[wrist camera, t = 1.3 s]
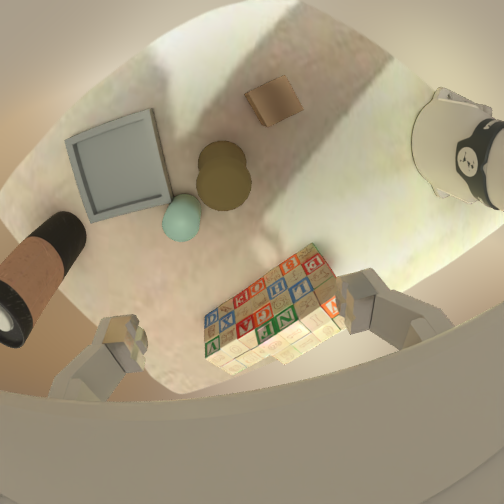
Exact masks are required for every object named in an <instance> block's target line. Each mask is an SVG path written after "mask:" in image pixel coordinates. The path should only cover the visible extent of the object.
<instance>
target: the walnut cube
mask: <svg viewBox="0 0 504 504" xmlns="http://www.w3.org/2000/svg"><path fill="white" fill-rule="evenodd" d="M244 95H245V97H246V98H247V100H248V102H249V103H250V105H251V107H252V108H253V110H254V112H255V114H256V115H257V117H258V119H259V121H260V122H261V124H262V125H263V126H266V127H270V126H272V125H274V124H276V123H278V122H280V121H282V120H284V119H286V118H288V117H290V116H292V115H294V114H296V113H298V112H300V111H303V110H304V109H303V107H302V105H301V103H300V102H299V100H298V98H297V96H296V94H295V92H294V90H293V88H292V87H291V85H290V83H289V81H288V79H287V78H286V76H285V75H283V76H281V77H279V78H277V79H274V80H272V81H270V82H268V83H266V84H264V85H262V86H260V87H257V88H255V89H253V90H251V91H249V92H247V93H245V94H244Z"/></svg>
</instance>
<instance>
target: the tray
mask: <svg viewBox="0 0 504 504" xmlns="http://www.w3.org/2000/svg"><path fill="white" fill-rule="evenodd" d="M65 144H66V148H67V152H68V156H69V159H70V163H71V166H72V170H73V173H74V177H75V180H76V183H77V186H78V189H79V192H80V195H81V198H82V201H83V204H84V207H85V210H86V213H87V215H88V218H89V221H90V223H94V222H98V221H102V220H105V219H109V218H112V217H116V216H120V215H124V214H127V213H131V212H135V211H139V210H143V209H147V208H151V207H155V206H159V205H163V204H168V203H172V200H173V198H174V196H173V193H172V189H171V185H170V181H169V177H168V173H167V169H166V165H165V161H164V157H163V153H162V148H161V144H160V140H159V135H158V131H157V126H156V121H155V117H154V112H153V109H147V110H144V111H140V112H137V113H134V114H131V115H128V116H125V117H122V118H119V119H116V120H113V121H111V122H108V123H105V124H102V125H100V126H97V127H95V128H92V129H89V130H87V131H85V132H82V133H80V134H77V135H75V136H73V137H70V138H68V139H66V140H65Z"/></svg>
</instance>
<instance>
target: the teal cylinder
mask: <svg viewBox="0 0 504 504" xmlns="http://www.w3.org/2000/svg"><path fill="white" fill-rule="evenodd" d="M200 216H201V205H200V203H199V201H198V200H197V199H196V198H195V197H194V196H192V195H189V194H180V195H177V196H176V197H174V198H173V200H172V203H170V204H169V206H168V208H167V211H166V213H165V215H164V217H163V221H162V227H163V230H164V232H165V234H166V235H167V236H168V237H169V238H170V239H172V240H174V241H178V242H185V241H188V240H190V239H192V238H193V237H195V235H196V234H197V232H198V230H199V224H200Z"/></svg>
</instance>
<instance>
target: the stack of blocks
mask: <svg viewBox="0 0 504 504" xmlns="http://www.w3.org/2000/svg"><path fill="white" fill-rule="evenodd" d="M336 278H337V277H336V276H335V274H334V273H333V271H332V269H331V268H330V267H329V265H328V264H327V262H326V261H325V259H324V258H323V257H322V256H321V254H320V253H319V251H318V250H317V249H316V247H315V246H314V244H313V243H311V244H310V245H308V246H307V247H305V248H304V249H302V250H301V251H299V252H298V253H297V254H294V255H293V256H291V257H290V258H289V259H287V260H286V261H284V262H283V263H281V264H280V265H279V266H277V267H276V268H274V269H273V270H271V271H270V272H268V273H267V274H265V275H264V276H263V277H262V278H260V279H259V280H258V281H256V282H255V283H253V284H252V285H251V286H249V287H248V288H247V289H245V290H244V291H242V292H241V293H239V294H238V295H236V296H235V297H234V298H231V299H230V300H228V301H227V302H225V303H224V304H222V305H221V306H219V307H218V308H216V309H215V310H213V311H212V312H210V313H209V314H207V315H206V316H205V326H204V329H205V330H204V343H205V359H207V360H208V361H210V362H211V363H213V364H214V365H216V366H217V367H220V368H221V369H223V370H224V371H226V372H228V373H229V374H231V375H234V374H236V373H238V372H240V371H242V370H243V369H245V368H247V367H250V366H252V365H253V364H255V363H257V362H259V361H261V360H262V359H263V358H266V357H268V356H270V355H271V356H273V357H275V358H276V359H277V360H279V361H280V362H282V363H283V364H284V365H285V364H287V363H289V362H290V361H292V360H294V359H296V358H297V357H299V356H301V355H302V354H304V353H305V352H308V351H309V350H311V349H312V348H314V347H316V346H317V345H319V344H320V343H321V342H324V341H326V340H327V339H329V338H330V337H332V336H333V335H335V334H337V333H338V332H340V331H341V330H343V329H345V328H346V326H345V324H344V320H345V318H344V317H342V316H340V314H339V312H338V310H337V307H336V301H335V294H336V292H337V291H338V288H337V286H336Z"/></svg>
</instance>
